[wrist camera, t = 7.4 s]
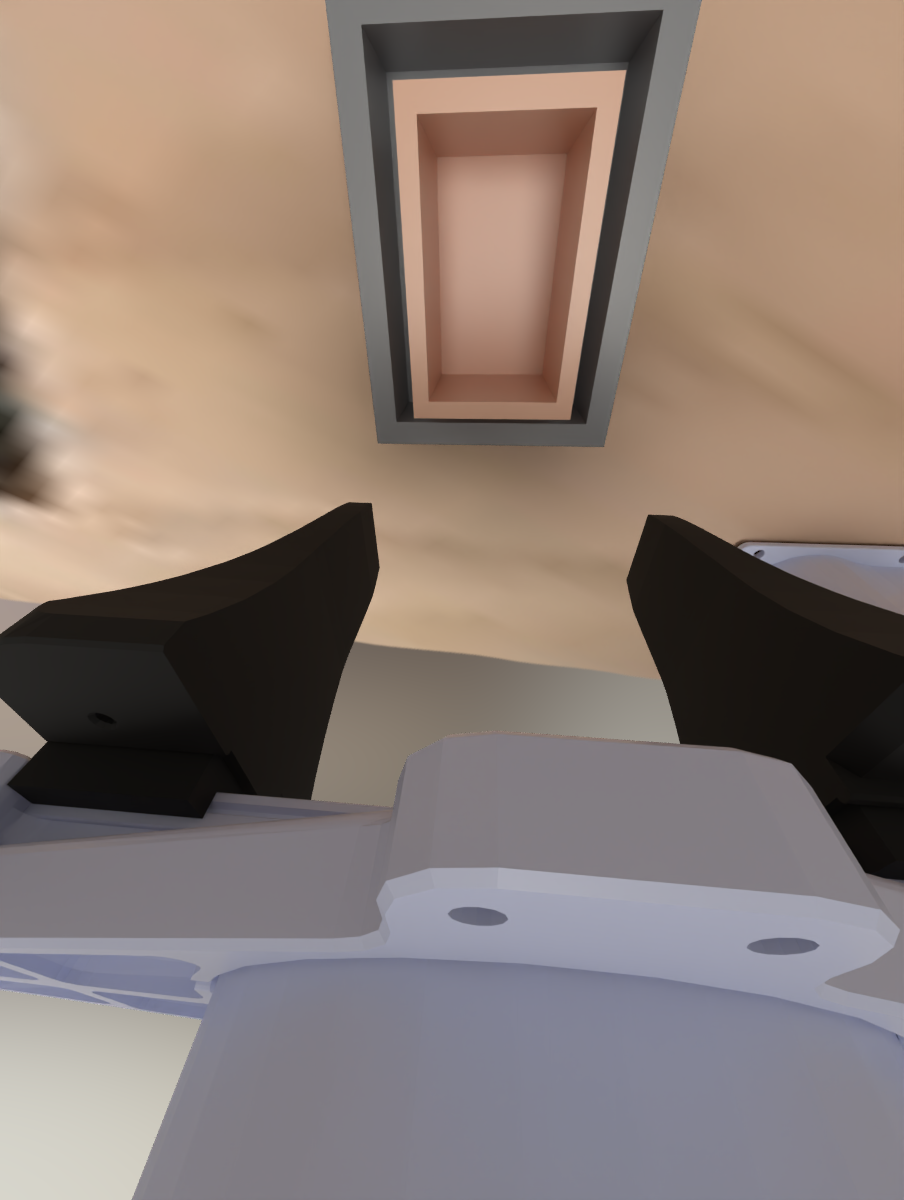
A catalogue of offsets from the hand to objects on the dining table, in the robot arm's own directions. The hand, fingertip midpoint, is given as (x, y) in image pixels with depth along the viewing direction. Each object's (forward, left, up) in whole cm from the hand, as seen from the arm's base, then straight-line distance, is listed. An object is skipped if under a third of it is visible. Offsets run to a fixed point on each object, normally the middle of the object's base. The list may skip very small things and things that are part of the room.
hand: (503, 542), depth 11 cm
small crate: (0, -6, -9) cm, 11 cm away
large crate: (0, -6, -10) cm, 11 cm away
